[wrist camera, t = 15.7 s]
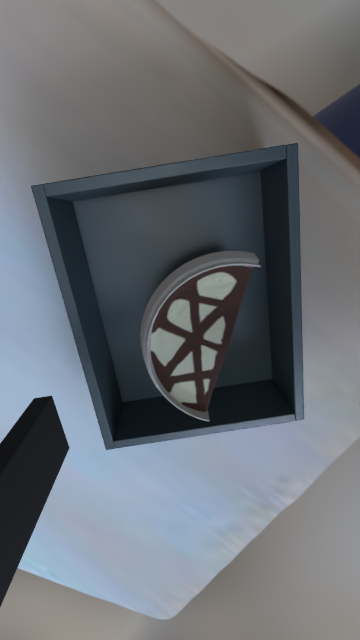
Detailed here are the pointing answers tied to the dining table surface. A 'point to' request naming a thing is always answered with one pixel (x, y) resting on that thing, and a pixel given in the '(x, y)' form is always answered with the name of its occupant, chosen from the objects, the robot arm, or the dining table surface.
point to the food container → (194, 327)
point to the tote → (159, 262)
